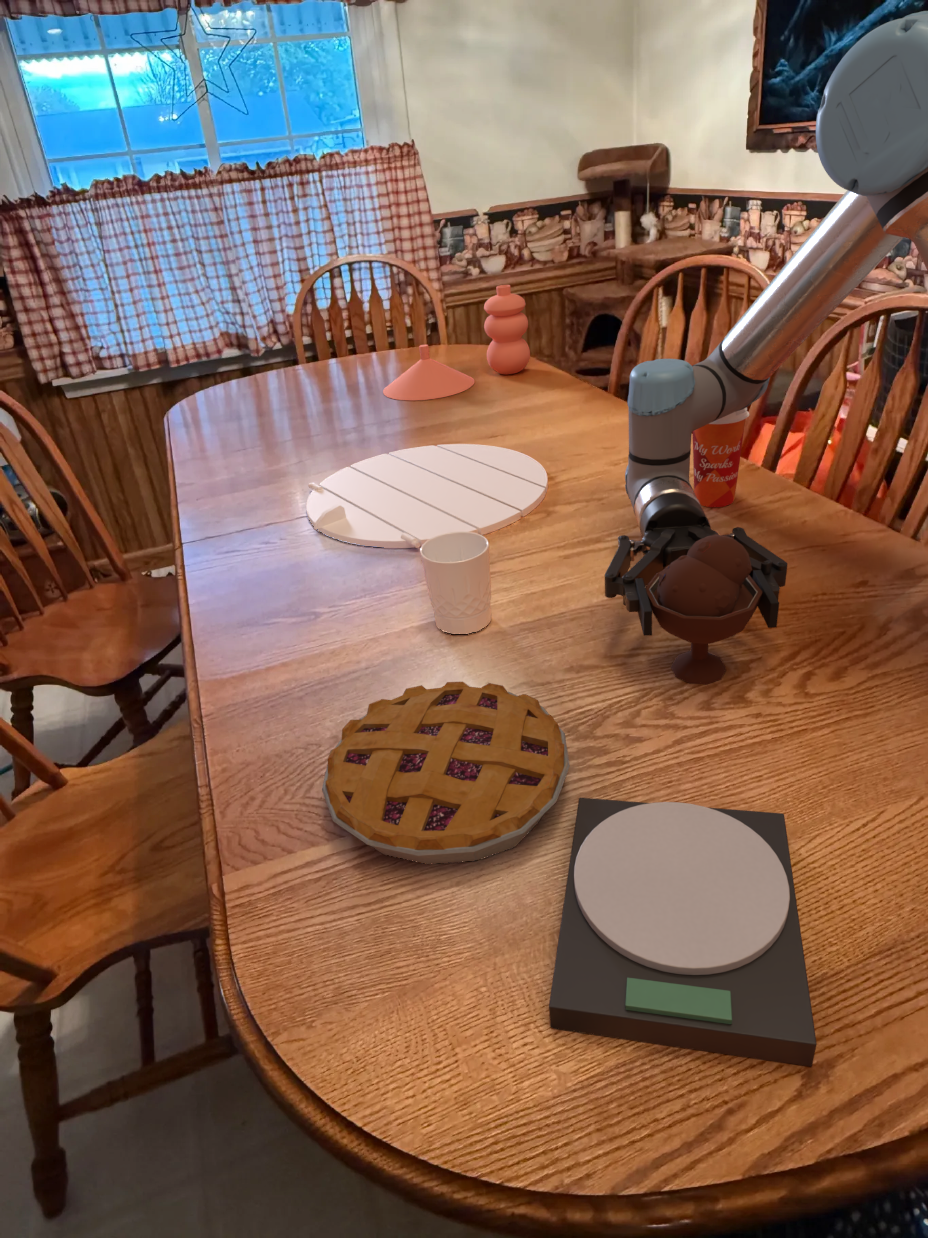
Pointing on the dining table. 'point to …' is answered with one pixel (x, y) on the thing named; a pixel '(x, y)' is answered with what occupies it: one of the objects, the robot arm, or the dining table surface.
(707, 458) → the paper cup
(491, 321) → the ceramic vessels
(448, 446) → the lazy susan
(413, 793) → the pie
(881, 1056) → the dining table surface
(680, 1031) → the scale
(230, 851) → the dining table surface
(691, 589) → the ice cream bowl
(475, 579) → the white cup
